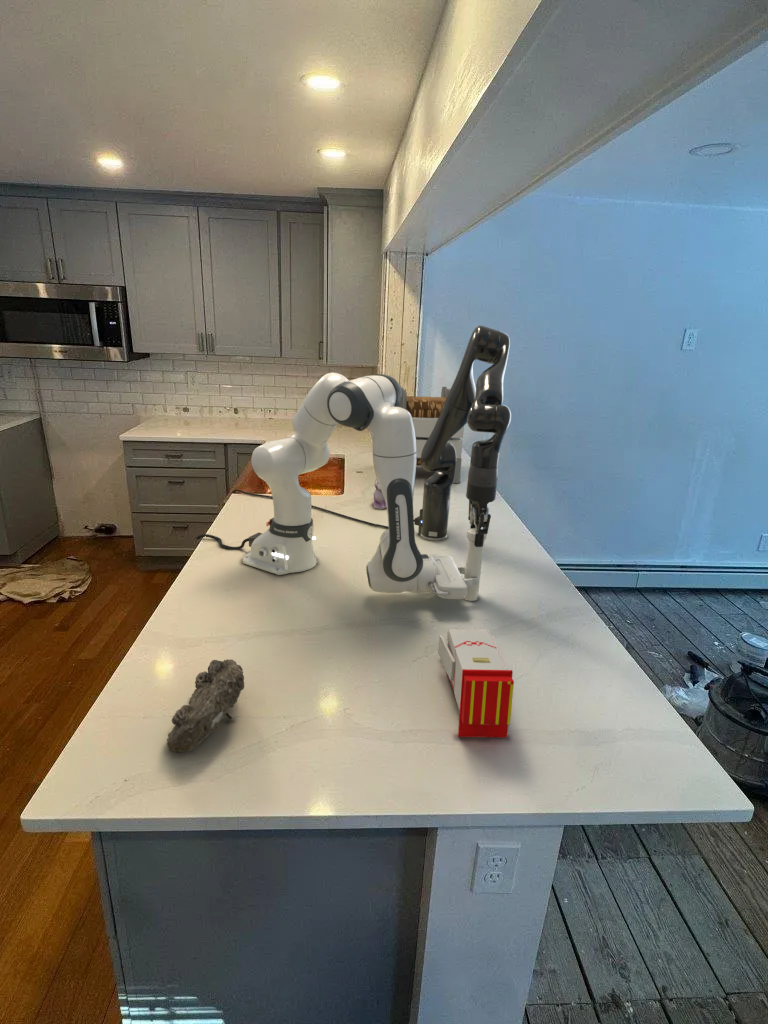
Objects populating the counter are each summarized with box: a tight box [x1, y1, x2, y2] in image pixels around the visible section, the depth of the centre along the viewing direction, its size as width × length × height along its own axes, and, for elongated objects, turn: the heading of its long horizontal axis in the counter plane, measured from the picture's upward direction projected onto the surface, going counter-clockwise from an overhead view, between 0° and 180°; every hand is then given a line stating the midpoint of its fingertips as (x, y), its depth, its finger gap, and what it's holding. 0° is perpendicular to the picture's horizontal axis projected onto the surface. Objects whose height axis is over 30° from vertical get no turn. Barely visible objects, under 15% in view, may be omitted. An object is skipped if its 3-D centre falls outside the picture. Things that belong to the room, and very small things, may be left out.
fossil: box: [166, 658, 245, 754], centre depth 106 cm, size 22×10×15 cm
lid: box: [466, 528, 488, 541], centre depth 151 cm, size 5×5×2 cm
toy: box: [437, 628, 515, 738], centre depth 117 cm, size 12×13×30 cm
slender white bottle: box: [463, 538, 485, 602], centre depth 155 cm, size 4×4×19 cm
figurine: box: [372, 478, 387, 510], centre depth 225 cm, size 9×10×15 cm
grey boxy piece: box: [398, 384, 465, 484], centre depth 268 cm, size 34×33×41 cm
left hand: (475, 576), depth 156 cm, fingers closed on slender white bottle, 4 cm apart
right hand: (475, 541), depth 152 cm, fingers open, 5 cm apart
